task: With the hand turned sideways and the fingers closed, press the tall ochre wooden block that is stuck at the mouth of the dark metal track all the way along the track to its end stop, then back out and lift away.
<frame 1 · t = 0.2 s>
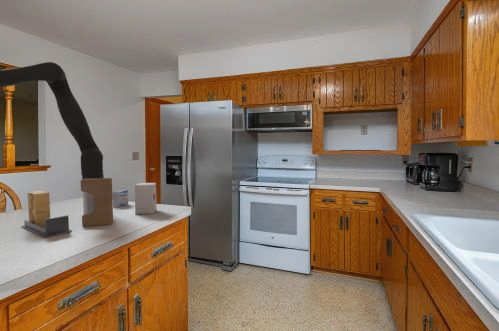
metal track: (45, 229, 111), on the countertop
supplement box: (146, 212, 141), on the countertop
decorative block: (98, 224, 119), on the countertop
slider block: (39, 208, 114), point 8 cm above the countertop, slide at 0.0 cm
medicine box: (120, 206, 158), on the countertop
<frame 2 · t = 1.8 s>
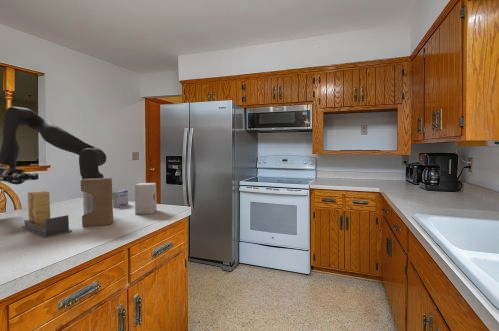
hand: (26, 178, 121), 20 cm above the countertop, tool horizontal, fingers open, 5 cm apart
nothing on the countertop moved.
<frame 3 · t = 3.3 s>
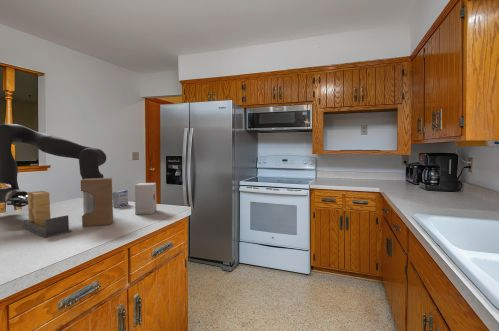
hand: (31, 202, 119), 10 cm above the countertop, tool horizontal, fingers closed
nothing on the countertop moved.
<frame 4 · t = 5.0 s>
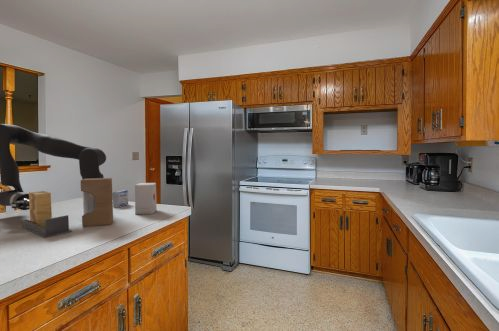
hand: (36, 205, 116), 9 cm above the countertop, tool horizontal, fingers closed
slider block: (40, 209, 114), point 8 cm above the countertop, slide at 1.5 cm, touching gripper
everything else where it was.
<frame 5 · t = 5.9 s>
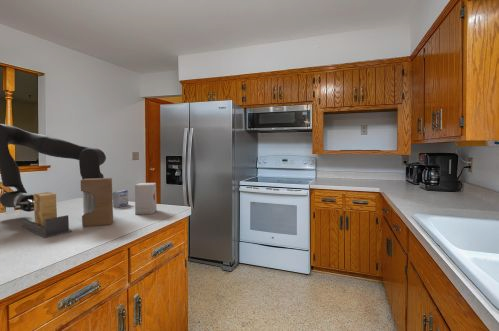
hand: (41, 206, 113), 9 cm above the countertop, tool horizontal, fingers closed
slider block: (45, 210, 111), point 8 cm above the countertop, slide at 6.7 cm, touching gripper
everything else where it was.
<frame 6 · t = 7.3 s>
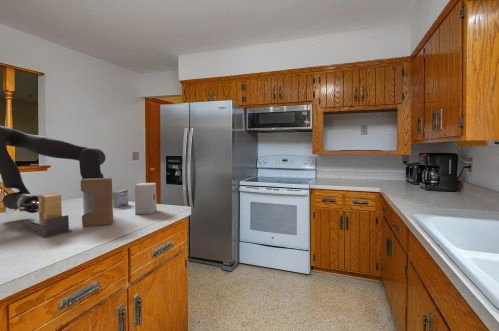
hand: (46, 208, 110), 9 cm above the countertop, tool horizontal, fingers closed
slider block: (50, 212, 108), point 8 cm above the countertop, slide at 11.5 cm, touching gripper
everything else where it was.
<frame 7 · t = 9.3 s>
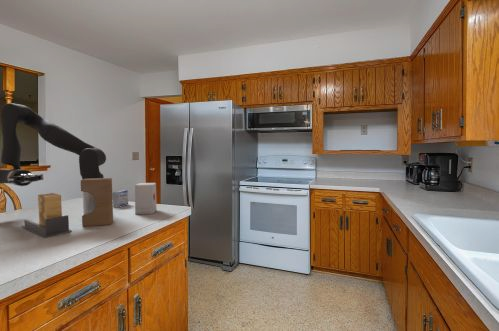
hand: (34, 178, 116), 20 cm above the countertop, tool horizontal, fingers closed
slider block: (50, 212, 108), point 8 cm above the countertop, slide at 11.5 cm
everything else where it was.
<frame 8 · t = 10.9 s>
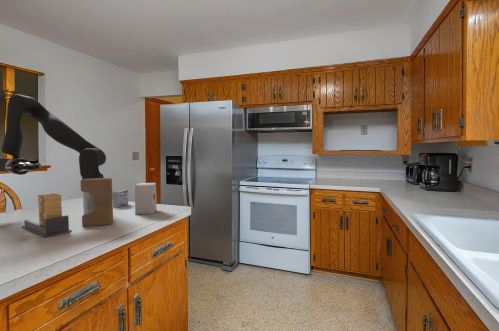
hand: (31, 167, 117), 25 cm above the countertop, tool horizontal, fingers closed
nothing on the countertop moved.
at the end: slider block slide at 11.5 cm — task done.
